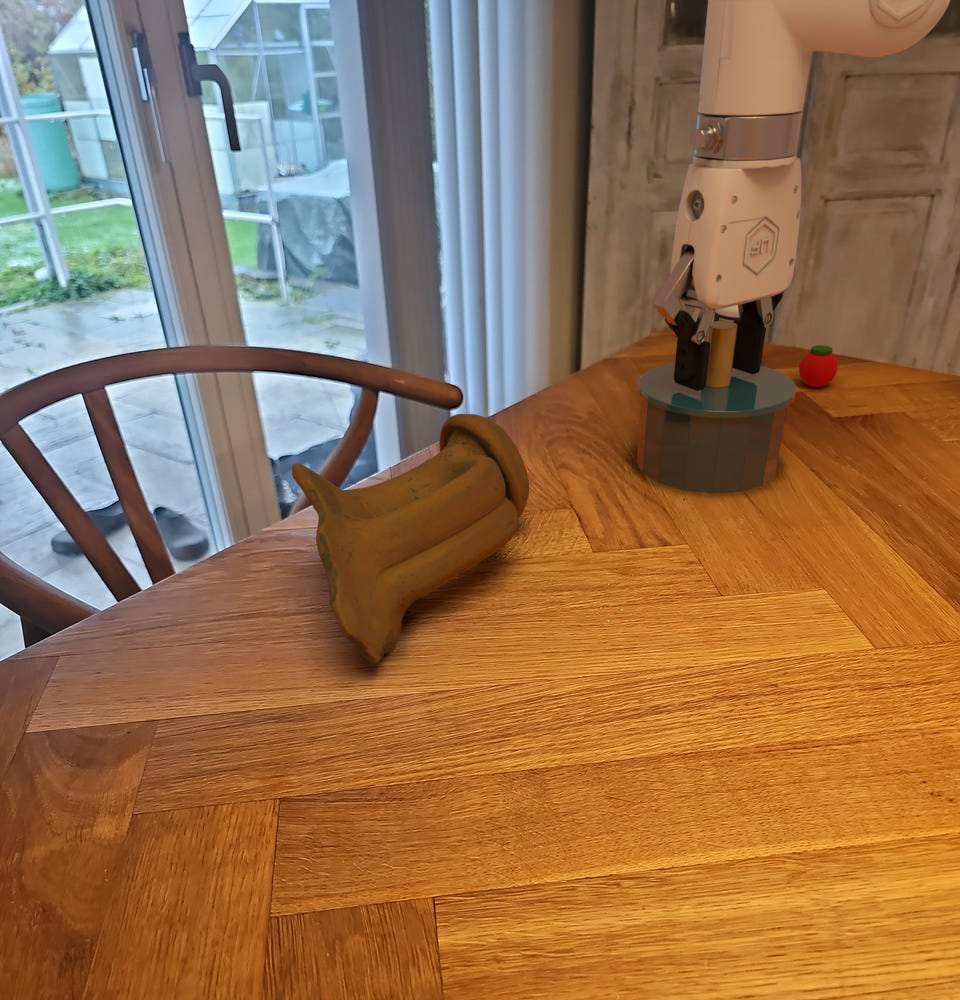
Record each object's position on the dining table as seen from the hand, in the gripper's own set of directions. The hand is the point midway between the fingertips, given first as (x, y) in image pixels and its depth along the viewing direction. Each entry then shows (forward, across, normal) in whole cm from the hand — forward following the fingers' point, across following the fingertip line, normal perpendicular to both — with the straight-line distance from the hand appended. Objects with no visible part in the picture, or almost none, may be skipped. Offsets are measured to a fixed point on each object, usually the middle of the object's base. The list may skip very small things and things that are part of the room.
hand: (716, 376), depth 76 cm
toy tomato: (+9, +26, +8) cm, 28 cm away
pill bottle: (+9, +24, +19) cm, 31 cm away
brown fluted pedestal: (+9, -32, -2) cm, 33 cm away
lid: (+1, 0, 0) cm, 1 cm away
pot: (+9, 0, 0) cm, 9 cm away
